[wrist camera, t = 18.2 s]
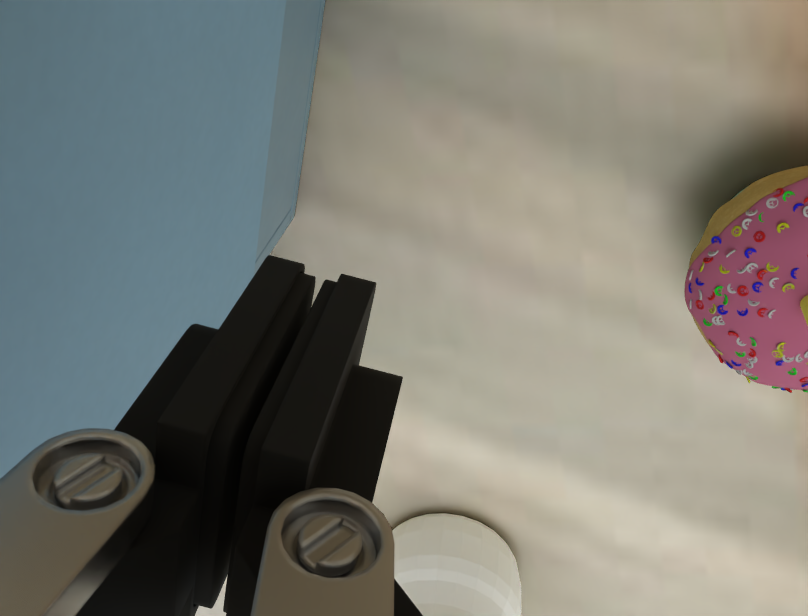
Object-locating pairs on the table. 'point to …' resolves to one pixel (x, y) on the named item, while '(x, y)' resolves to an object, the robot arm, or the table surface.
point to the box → (289, 120)
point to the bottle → (456, 567)
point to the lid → (122, 194)
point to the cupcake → (756, 281)
